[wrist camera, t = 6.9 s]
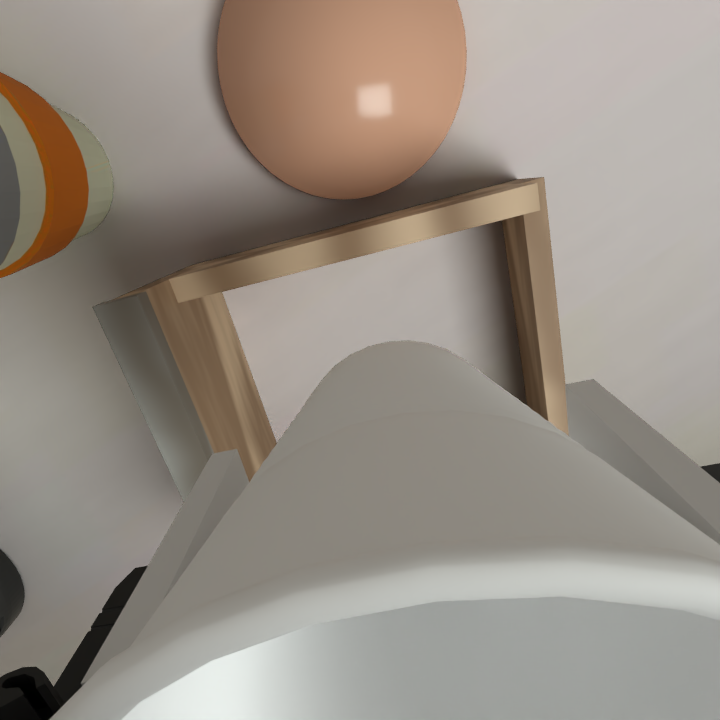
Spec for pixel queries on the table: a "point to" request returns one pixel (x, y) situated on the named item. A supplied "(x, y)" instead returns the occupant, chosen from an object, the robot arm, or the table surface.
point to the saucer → (342, 87)
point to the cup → (429, 573)
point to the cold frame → (210, 278)
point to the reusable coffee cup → (46, 178)
